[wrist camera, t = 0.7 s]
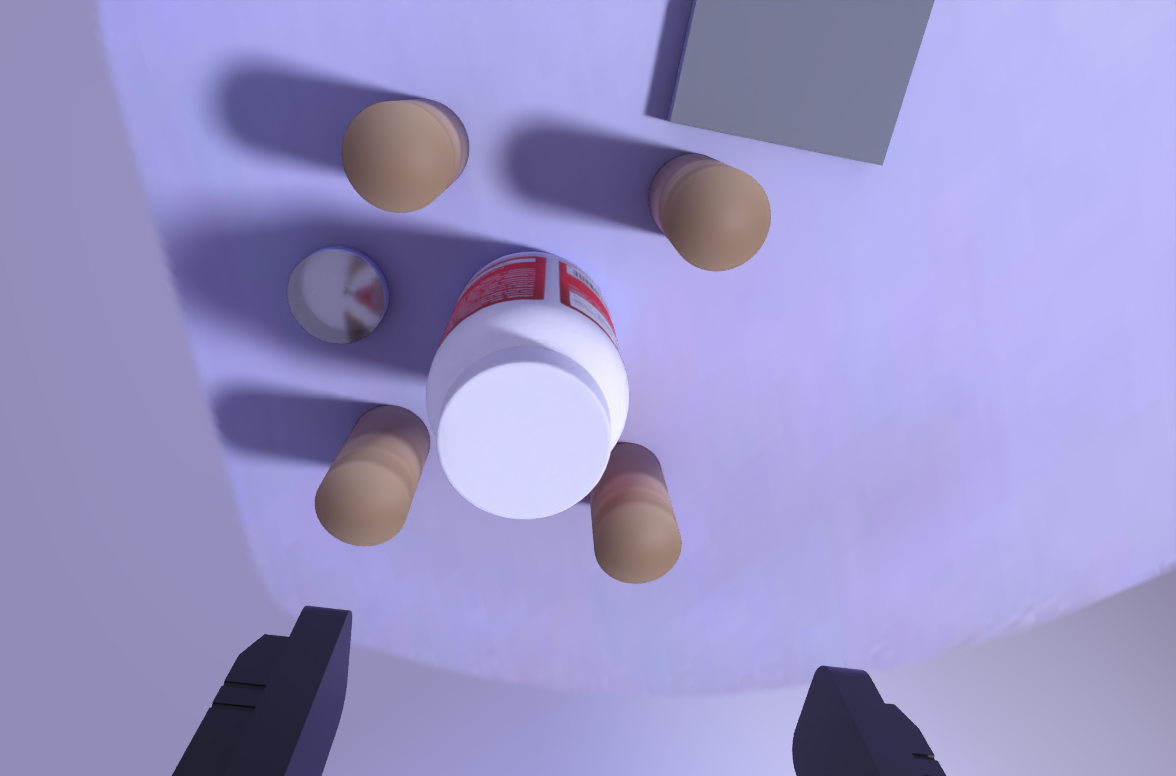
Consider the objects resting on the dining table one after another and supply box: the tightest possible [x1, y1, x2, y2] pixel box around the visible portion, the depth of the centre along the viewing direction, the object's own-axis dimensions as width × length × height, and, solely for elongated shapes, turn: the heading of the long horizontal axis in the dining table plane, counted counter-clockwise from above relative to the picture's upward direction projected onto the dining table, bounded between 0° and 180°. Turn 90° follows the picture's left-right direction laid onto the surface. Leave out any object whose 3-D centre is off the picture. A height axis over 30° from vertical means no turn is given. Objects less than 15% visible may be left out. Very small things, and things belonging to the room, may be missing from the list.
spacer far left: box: [315, 405, 430, 546], centre depth 30 cm, size 3×3×6 cm
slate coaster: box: [667, 0, 934, 165], centre depth 27 cm, size 8×8×1 cm
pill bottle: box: [426, 252, 629, 519], centre depth 26 cm, size 6×6×11 cm
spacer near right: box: [648, 153, 771, 271], centre depth 27 cm, size 3×3×6 cm
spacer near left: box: [342, 99, 469, 213], centre depth 26 cm, size 3×3×6 cm
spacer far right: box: [589, 443, 682, 584], centre depth 31 cm, size 3×3×6 cm
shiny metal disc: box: [287, 246, 389, 344], centre depth 30 cm, size 4×4×1 cm
